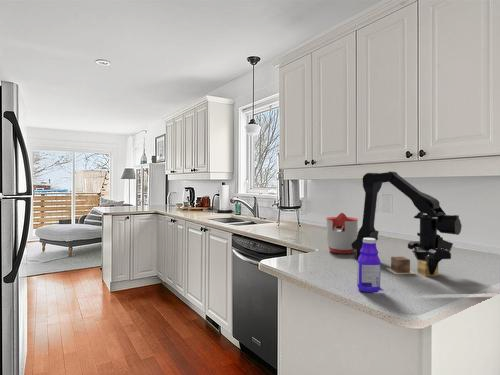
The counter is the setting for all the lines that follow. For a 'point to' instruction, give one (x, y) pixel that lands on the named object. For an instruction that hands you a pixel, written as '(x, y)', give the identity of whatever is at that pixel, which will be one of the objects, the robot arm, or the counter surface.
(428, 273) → the ochre block
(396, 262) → the walnut block
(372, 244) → the bottle
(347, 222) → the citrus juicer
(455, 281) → the counter surface
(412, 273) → the board
